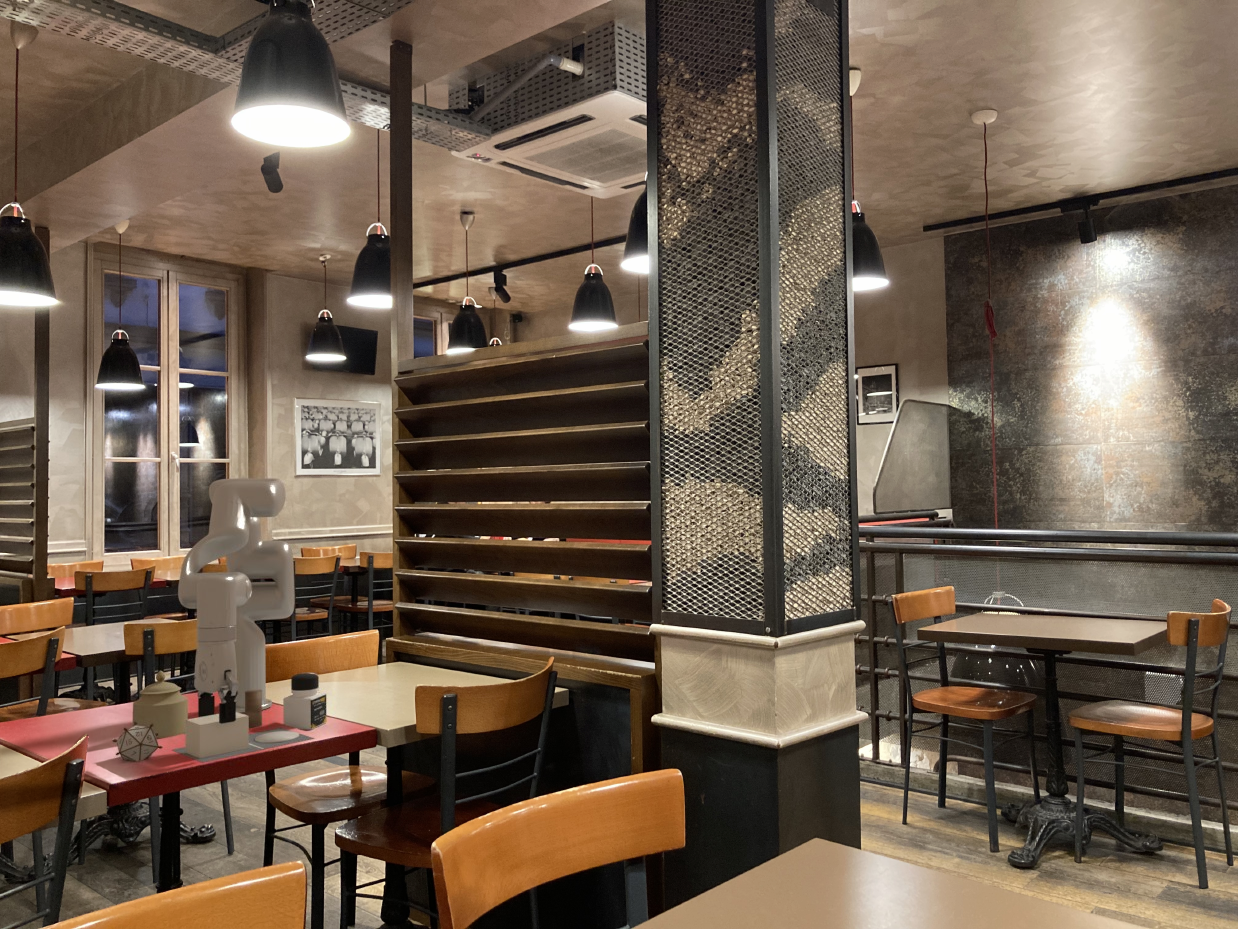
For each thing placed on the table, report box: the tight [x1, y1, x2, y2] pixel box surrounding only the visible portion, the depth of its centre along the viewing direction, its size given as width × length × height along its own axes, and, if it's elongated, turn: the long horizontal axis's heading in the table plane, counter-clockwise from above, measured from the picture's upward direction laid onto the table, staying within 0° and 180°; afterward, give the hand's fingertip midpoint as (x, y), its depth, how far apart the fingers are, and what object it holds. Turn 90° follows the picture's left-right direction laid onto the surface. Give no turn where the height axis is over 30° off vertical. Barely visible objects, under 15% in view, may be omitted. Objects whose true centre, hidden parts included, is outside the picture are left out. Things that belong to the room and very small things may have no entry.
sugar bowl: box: [132, 670, 189, 740], centre depth 212 cm, size 15×11×15 cm
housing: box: [184, 712, 250, 758], centre depth 195 cm, size 7×10×7 cm
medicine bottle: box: [282, 672, 327, 731], centre depth 220 cm, size 7×7×12 cm
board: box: [172, 727, 316, 763], centre depth 200 cm, size 15×24×4 cm, turn 137°
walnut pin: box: [244, 690, 263, 729], centre depth 216 cm, size 4×4×9 cm
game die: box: [111, 722, 163, 762], centre depth 190 cm, size 9×8×10 cm
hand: (216, 719), depth 195 cm, fingers open, 9 cm apart
